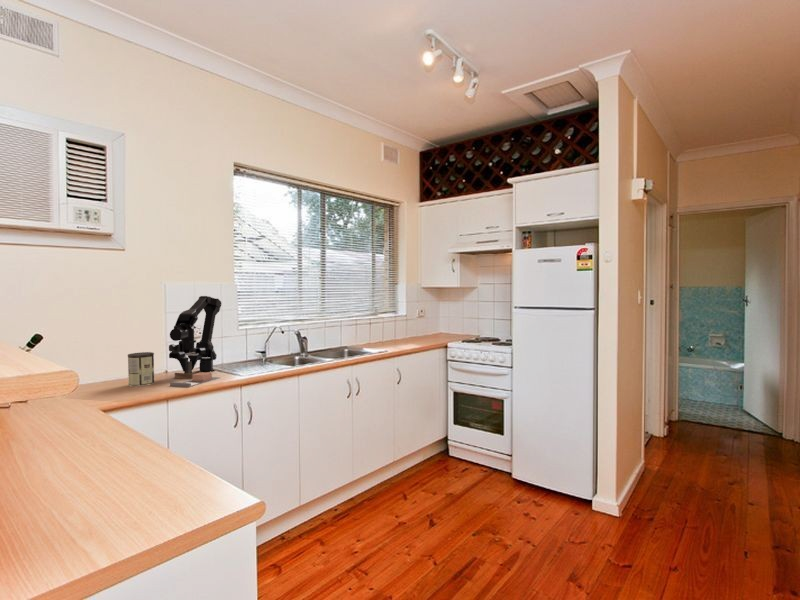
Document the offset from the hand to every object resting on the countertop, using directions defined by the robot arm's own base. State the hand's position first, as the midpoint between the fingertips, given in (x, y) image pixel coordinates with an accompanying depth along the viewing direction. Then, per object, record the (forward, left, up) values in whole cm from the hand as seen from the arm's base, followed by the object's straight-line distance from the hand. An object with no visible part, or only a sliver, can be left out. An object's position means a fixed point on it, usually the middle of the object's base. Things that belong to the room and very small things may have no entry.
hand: (188, 370), depth 219 cm
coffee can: (+19, -9, -4) cm, 21 cm away
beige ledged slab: (0, 0, -4) cm, 4 cm away
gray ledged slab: (+8, +12, -4) cm, 15 cm away
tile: (+5, +12, -3) cm, 13 cm away
